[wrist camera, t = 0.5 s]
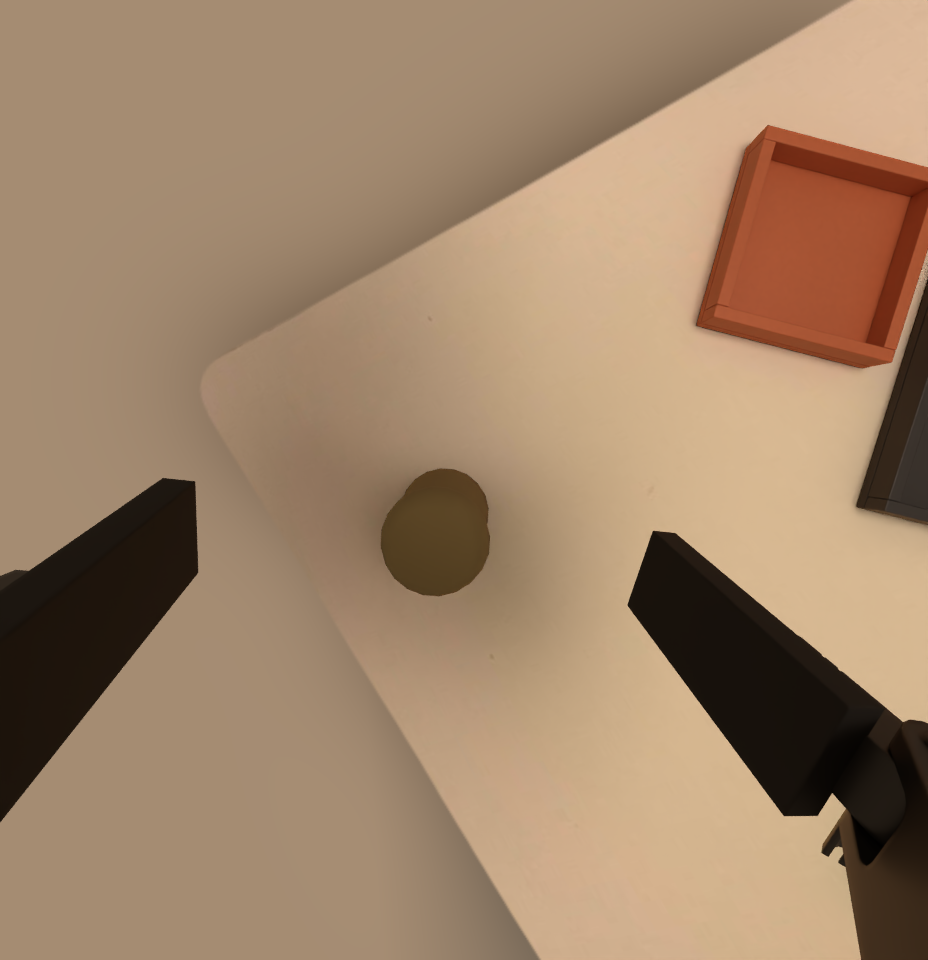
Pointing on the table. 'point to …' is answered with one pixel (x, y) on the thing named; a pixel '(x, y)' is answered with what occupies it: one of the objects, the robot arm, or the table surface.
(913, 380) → the charcoal tray
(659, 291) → the table surface
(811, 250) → the terracotta tray
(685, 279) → the table surface
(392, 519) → the cork
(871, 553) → the table surface
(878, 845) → the robot arm
